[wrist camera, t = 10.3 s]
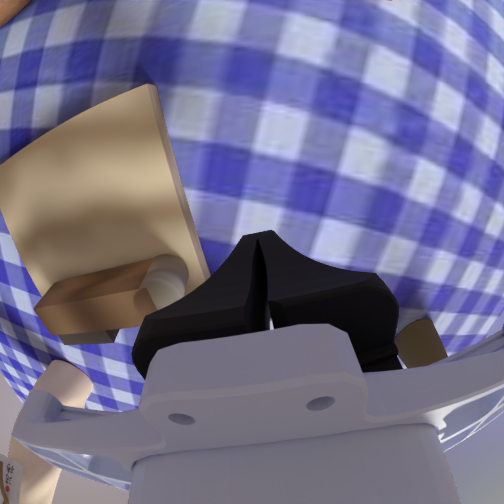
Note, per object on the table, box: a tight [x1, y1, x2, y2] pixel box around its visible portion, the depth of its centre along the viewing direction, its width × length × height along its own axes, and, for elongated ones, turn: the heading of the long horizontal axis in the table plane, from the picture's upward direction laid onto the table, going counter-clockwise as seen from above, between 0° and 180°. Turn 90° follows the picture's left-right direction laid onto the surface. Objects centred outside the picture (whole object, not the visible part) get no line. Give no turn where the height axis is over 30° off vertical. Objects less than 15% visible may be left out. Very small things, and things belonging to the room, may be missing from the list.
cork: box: [394, 319, 448, 368], centre depth 24 cm, size 6×6×11 cm
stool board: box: [0, 84, 211, 345], centre depth 18 cm, size 17×18×6 cm
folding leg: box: [34, 254, 189, 335], centre depth 19 cm, size 14×3×4 cm, turn 103°
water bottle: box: [0, 360, 93, 504], centre depth 19 cm, size 10×9×28 cm
